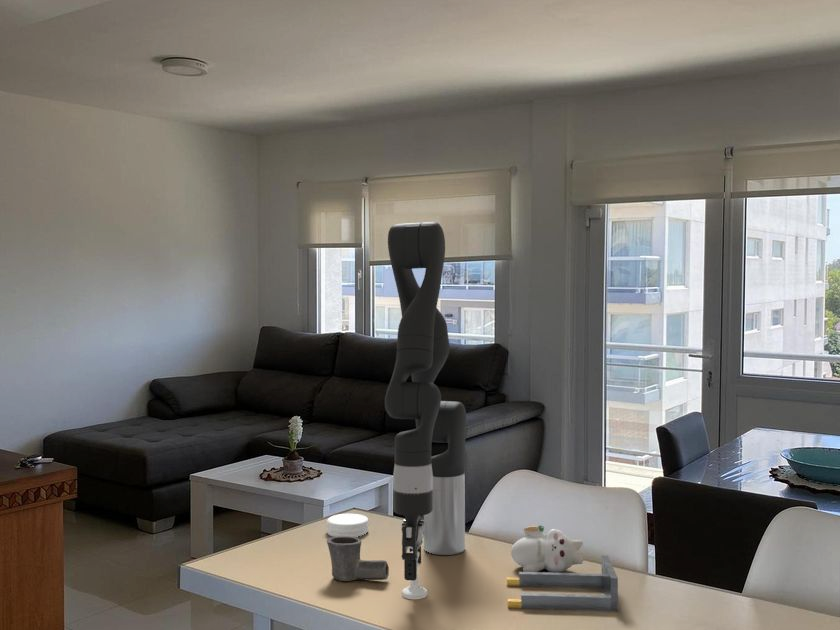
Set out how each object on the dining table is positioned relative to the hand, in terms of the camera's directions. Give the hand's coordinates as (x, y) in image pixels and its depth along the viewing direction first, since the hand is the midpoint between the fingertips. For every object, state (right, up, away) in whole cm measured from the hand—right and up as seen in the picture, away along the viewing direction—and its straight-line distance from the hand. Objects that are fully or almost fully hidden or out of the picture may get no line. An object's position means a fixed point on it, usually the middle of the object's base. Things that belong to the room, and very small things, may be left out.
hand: (413, 572), depth 150 cm
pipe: (-11, -5, +9) cm, 15 cm away
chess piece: (0, -5, 0) cm, 5 cm away
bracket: (+28, -4, -1) cm, 29 cm away
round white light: (-16, -4, +40) cm, 43 cm away
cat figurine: (+28, -4, +13) cm, 31 cm away
